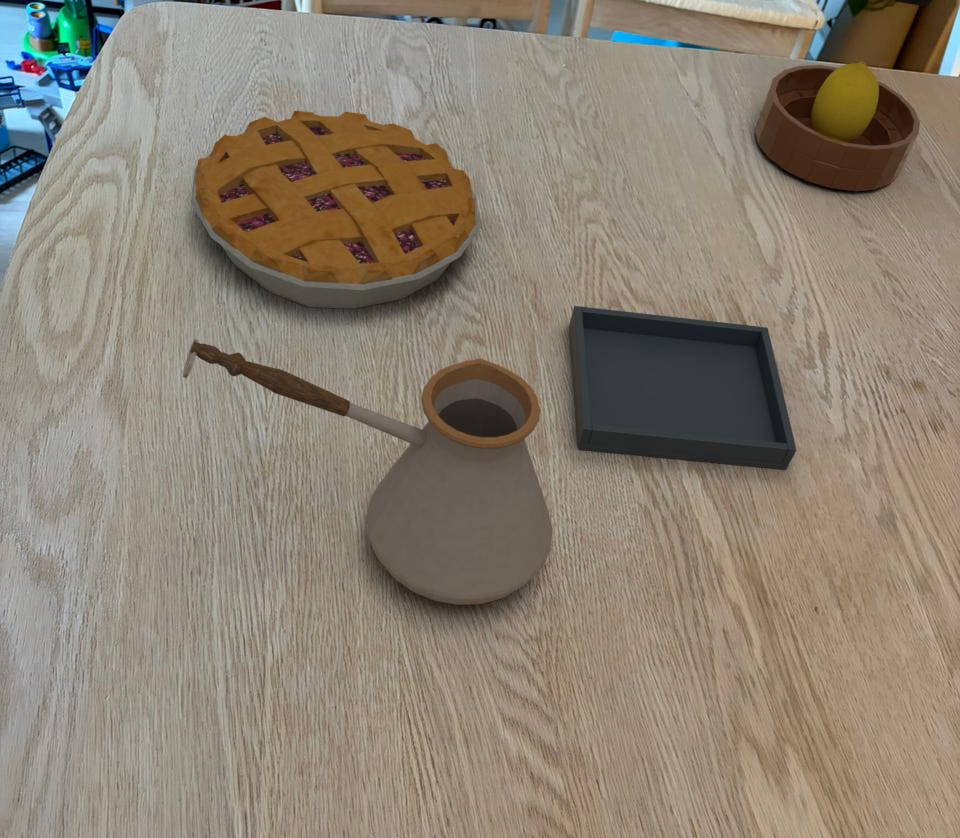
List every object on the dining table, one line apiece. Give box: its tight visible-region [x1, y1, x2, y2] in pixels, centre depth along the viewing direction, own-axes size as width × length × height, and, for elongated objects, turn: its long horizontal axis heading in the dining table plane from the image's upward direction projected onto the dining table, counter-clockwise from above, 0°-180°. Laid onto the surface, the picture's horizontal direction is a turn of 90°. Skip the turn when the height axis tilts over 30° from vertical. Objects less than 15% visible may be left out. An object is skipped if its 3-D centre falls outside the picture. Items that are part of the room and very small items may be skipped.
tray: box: [568, 305, 797, 471], centre depth 78 cm, size 15×13×2 cm
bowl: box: [754, 64, 921, 192], centre depth 100 cm, size 14×14×4 cm
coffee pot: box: [182, 338, 553, 606], centre depth 61 cm, size 21×12×15 cm, turn 91°
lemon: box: [812, 61, 879, 143], centre depth 98 cm, size 6×6×8 cm
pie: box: [190, 110, 481, 310], centre depth 83 cm, size 22×22×5 cm
